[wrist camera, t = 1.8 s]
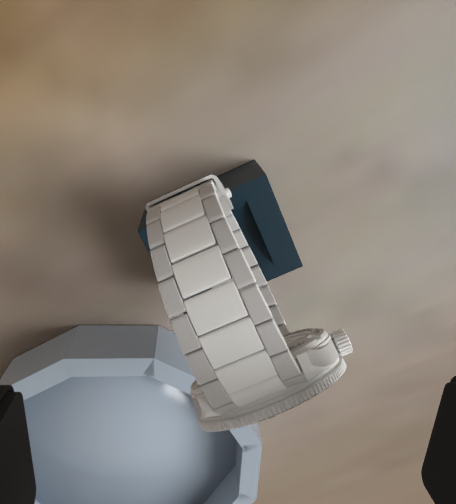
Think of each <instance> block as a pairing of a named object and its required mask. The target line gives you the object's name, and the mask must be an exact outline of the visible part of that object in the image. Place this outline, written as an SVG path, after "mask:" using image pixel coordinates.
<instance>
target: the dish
mask: <svg viewBox="0 0 456 504" xmlns="http://www.w3.org/2000/svg"><path fill="white" fill-rule="evenodd" d="M185 355H186V354H183V353H182V350H181V348H180V346H179V343H178V341H177V338H176V336H175V333H173V332H171V331H169V330H167V329H165V328H163V327H161V326H159V325H79V326H77V327H75V328H73V329H71V330H69V331H67V332H65V333H63V334H61V335H59V336H57V337H55V338H53V339H51V340H49V341H47V342H45V343H43V344H41V345H39V346H37V347H35V348H33V349H31V350H29V351H27V352H25V353H23V354H21V355H19V356H17V357H15V358H14V359H13V360H12V362H11V363H10V365H9V366H8V368H7V369H6V371H5V373H4V374H3V376H2V377H1V379H0V385H12V387H13V388H14V392H21V393H22V396H23V401H24V408H25V414H26V421H27V428H28V434H29V441H30V448H31V455H32V461H33V468H34V475H35V481H36V498H35V503H34V504H252V503H253V502H254V501H255V500H256V497H257V487H258V478H259V469H260V460H261V451H262V442H261V437H260V432H259V426H258V422H256V423H254V424H250V425H247V426H244V427H240V428H236V429H232V430H226V431H217V432H209V431H208V432H207V431H204V430H202V429H201V428H200V425H199V422H198V417H199V415H198V413H197V411H196V408H195V405H194V403H193V400H192V398H191V394H190V393H191V390H190V389H191V385H192V383H193V382H194V381H195V380H196V379H195V377H194V375H193V373H192V371H191V369H190V367H189V364H188V362H187V360H186V357H185Z"/></svg>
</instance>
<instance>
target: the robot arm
mask: <svg viewBox="0 0 456 504" xmlns="http://www.w3.org/2000/svg"><path fill="white" fill-rule="evenodd" d="M421 473H422V480H423V483H424V486H425V488H426V489H427V491H428V493H429V494H430V496H431V498H432V499H433V501H434V503H435V504H456V376H454V377H453V378H452V379H451V381H450V383H447V384H446V385H445V387H444V391H443V394H442V398H441V401H440V405H439V409H438V412H437V416H436V420H435V423H434V427H433V430H432V434H431V438H430V441H429V445H428V448H427V452H426V456H425V459H424V463H423V466H422V471H421ZM35 498H36V481H35V475H34V468H33V461H32V455H31V448H30V441H29V434H28V428H27V421H26V414H25V408H24V401H23V396H22V393H21V392H14V388H13V387H12V385H0V504H34V503H35Z"/></svg>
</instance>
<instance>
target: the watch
mask: <svg viewBox="0 0 456 504" xmlns="http://www.w3.org/2000/svg"><path fill="white" fill-rule="evenodd" d="M145 208H146V209H145V212H144V214H143V217H142V220H141V223H140V226H139V229H138V233H139V235H140V237H141V239H142V240H143V242H144V244H145V246H146V247H147V249H148V251H149V253H150V255H151V258H152V263H153V267H154V271H155V275H156V278H157V281H158V282H159V283H158V288H159V291H160V295H161V298H162V301H163V304H164V307H165V310H166V313H167V316H168V318H172V317H175V316H177V315H180V314H182V313H184V314H183V315H181V316H178V317H176V318H174V319H171V320H170V322H171V325H172V328H173V330H174V333H175V336H176V338H177V341H178V343H179V346H180V348H181V350H182V353H183V354H186V355H185V357H186V360H187V362H188V364H189V367H190V369H191V371H192V373H193V375H194V377H195V379H196V380H195V381H194V382H193V383H192V385H191V389H190V390H191V393H190V394H191V398H192V400H193V403H194V405H195V408H196V411H197V413H198V415H199V417H198V422H199V425H200V428H201V429H202V430H204V431H207V432H208V431H209V432H217V431H226V430H232V429H236V428H240V427H244V426H247V425H250V424H254V423H256V422H259V421H262V420H265V419H270V418H273V417H275V415H278V414H280V413H282V412H284V411H287V410H289V409H291V408H293V407H295V406H297V405H299V404H301V403H303V402H305V401H307V400H309V399H310V398H312V397H314V396H316V395H317V394H319V393H320V392H322V391H323V390H325V389H326V388H328V387H329V386H330V385H332V384H333V383H334V382H335V381H336V380H338V379H339V378H340V377H341V376H342V374H343V373H344V372H345V370H346V364H345V362H344V360H343V358H342V357H341V356H344V355H347V354H349V353H352V352H353V349H352V345H351V343H350V340H349V338H348V336H347V335H346V333H345V331H344V330H343V329H340V330H338V331H335V332H333V333H331V336H332V338H331V337H330V335H329V334H328V333H327V332H326V331H325V330H324V329H314V328H308V329H303V330H297V331H295V332H292V333H289V330H288V328H287V326H286V323H285V321H284V319H283V317H282V315H281V313H280V311H279V308H278V306H277V303H276V301H275V299H274V297H273V295H272V293H271V291H270V289H269V287H268V285H267V281H269V280H271V279H274V278H276V277H278V276H281V275H283V274H285V273H288V272H290V271H293V270H295V269H297V268H300V267H302V263H301V261H300V258H299V256H298V253H297V251H296V248H295V246H294V243H293V241H292V238H291V236H290V233H289V231H288V228H287V226H286V223H285V221H284V218H283V216H282V213H281V211H280V208H279V206H278V203H277V201H276V198H275V196H274V193H273V191H272V188H271V186H270V184H269V181H268V179H267V176H266V174H265V173H264V171H263V170H262V169H261V167H260V166H259V165H258V163H257V162H256V161H255V160H253V161H250V162H248V163H246V164H244V165H242V166H239V167H237V168H235V169H233V170H230V171H228V172H226V173H224V174H222V175H219V176H215V175H212V174H210V175H208V176H206V177H204V178H201V179H199V180H197V181H195V182H192V183H190V184H188V185H186V186H183V187H181V188H179V189H177V190H175V191H172V192H170V193H168V194H166V195H164V196H162V197H159V198H157V199H155V200H153V201H151V202H149V203H147V204H146V207H145ZM264 285H266V286H264ZM262 286H264V287H262ZM259 287H262V288H259ZM275 305H276V306H275ZM273 306H274V307H273ZM270 307H271V308H270ZM221 326H222V327H221ZM219 327H220V328H219ZM214 329H215V330H214ZM212 330H213V331H212ZM209 331H210V332H209ZM207 332H208V333H207ZM202 334H203V335H202ZM200 335H201V336H200ZM338 352H339V354H340V355H341V356H338Z"/></svg>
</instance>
